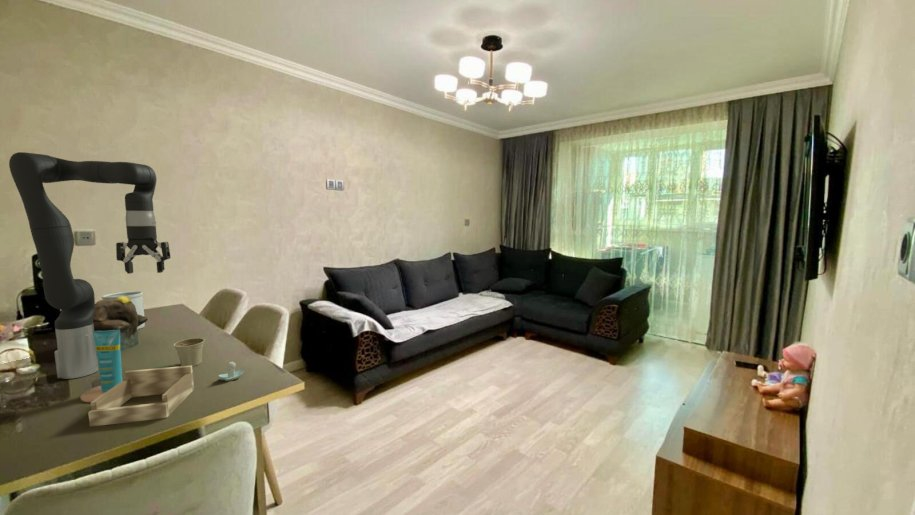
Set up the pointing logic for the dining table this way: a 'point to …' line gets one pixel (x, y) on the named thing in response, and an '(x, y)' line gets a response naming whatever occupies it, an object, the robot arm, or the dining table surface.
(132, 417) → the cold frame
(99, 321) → the brown and grey lump
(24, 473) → the dining table surface
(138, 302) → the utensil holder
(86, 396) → the saucer
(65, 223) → the robot arm
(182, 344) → the flower pot
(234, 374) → the pacifier
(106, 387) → the tube
